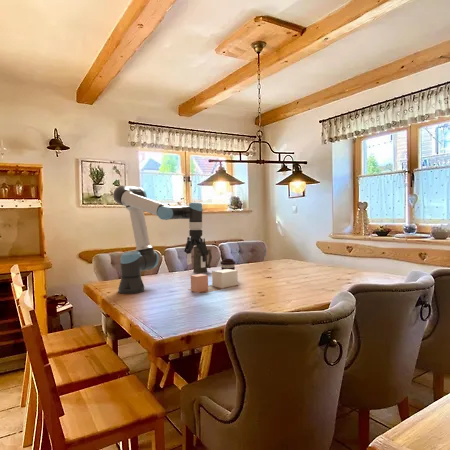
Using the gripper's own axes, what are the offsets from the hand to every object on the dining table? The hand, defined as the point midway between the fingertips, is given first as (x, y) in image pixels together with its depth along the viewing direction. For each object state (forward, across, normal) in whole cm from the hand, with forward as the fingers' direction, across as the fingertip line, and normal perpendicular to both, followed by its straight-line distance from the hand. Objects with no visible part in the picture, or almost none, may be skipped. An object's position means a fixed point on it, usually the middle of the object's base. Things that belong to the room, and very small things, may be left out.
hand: (196, 265), depth 206 cm
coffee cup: (+16, +9, -33) cm, 38 cm away
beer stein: (+16, +52, -45) cm, 71 cm away
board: (+15, -1, -13) cm, 20 cm away
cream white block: (+14, -1, -22) cm, 26 cm away
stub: (+15, -1, -2) cm, 15 cm away
